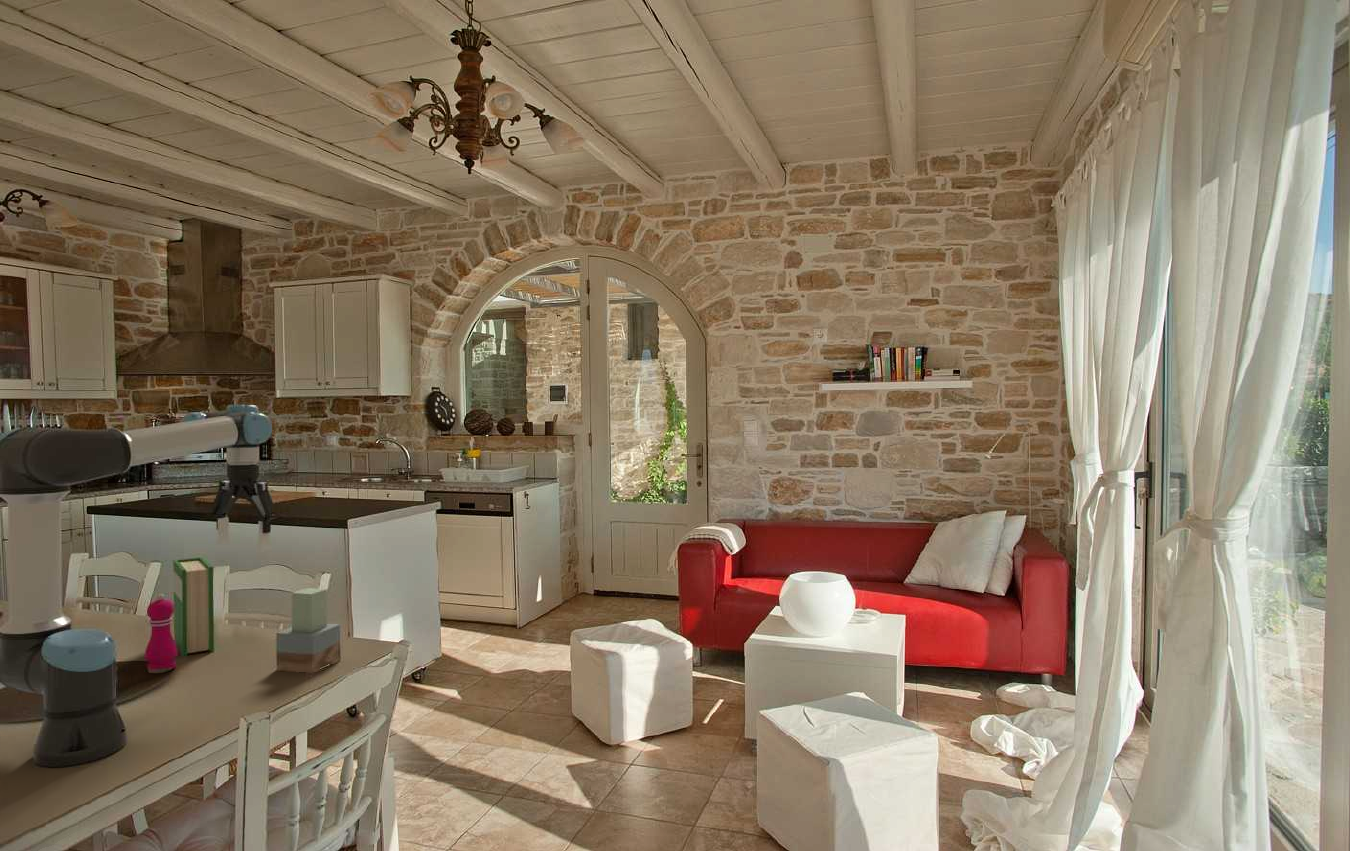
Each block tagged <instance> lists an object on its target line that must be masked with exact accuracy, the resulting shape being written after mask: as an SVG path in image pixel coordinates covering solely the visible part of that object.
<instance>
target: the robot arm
mask: <svg viewBox="0 0 1350 851" xmlns="http://www.w3.org/2000/svg"><path fill="white" fill-rule="evenodd" d="M272 430H273V426H272V422H271V420H270V418H269V416H267V415H265V414H264V413H260V412H259V408H258V406H257V405H254V404H229V405H227V406H226V410H225V412H218V411H217V412H216V411H215V412H212V411H211V412H210V411H197V412H188V413H186V414H184V416H183V417H182V418H181V421H180V422H176V423H169V424H168V423H167V424H163V425H157V426H149V427H142V428H136V429H129V430H123V431H122V430H121V429H119V428H116V427H112V428H106V429H105V428H104V429H103V428H102V429H77V428H75V429H73V428H64V427H63V428H61V427H60V428H53V427H34V426H28V427H19V428H13V429H10V430H7V431H4V432H3V433H1V434H0V498H2V500H4V501H6V502H7V509H8V510H7V511H8V512H7V514H8V517H7V518H8V520H7V522H8V523H7V526H8V531H7V532H8V533H7V534H8V620H7V621H6V622H5V623H4V624H3V625H2V626H1V627H0V685H1V686H4V687H7V688H9V689H10V690H14V691H19V692H23V691H24V692H27V693H31V694H32V693H33V694H37V695H42V696H43V721H42V724H41V727H40V729H39V733H38V735H37V739H36V742H35V744H34V746H33V750H32V754H33V756H32V761H33V763H34V764H35V765H36V766H40V767H46V768H47V767H48V768H57V767H61V768H62V767H68V766H75V765H81V764H85V763H90V762H93V761H96V760H100V759H102V758H105V757H108V756H110V755H112V754H114V753H116V752H118V751H120V750H121V749H123V748H124V747H125V746H126V744H127V742H128V731H127V728H126V726H125V723H124V721H123V718H122V716H121V714H120V712H119V709H118V707H117V685H116V684H117V682H116V681H117V679H116V676H117V674H116V671H117V670H116V666H117V664H116V663H117V662H116V657H117V649H116V643H115V638H114V637H113V635H111V633H109V632H107V631H105V630H101V629H97V628H96V629H95V628H88V629H85V628H73V629H72V620H71V619H70V617H68V616H67V615H64V614H63V576H62V575H63V574H62V573H63V571H62V570H63V568H62V564H63V563H62V558H63V557H62V556H63V554H62V550H63V549H62V547H63V546H62V545H63V544H62V542H63V541H62V501H63V499H64V498H65V497H66V496H68V494H70V493H71V485H76V484H82V483H86V482H90V481H94V480H97V479H100V478H101V479H102V478H105V477H110V476H114V475H121V474H123V473H126V472H127V471H128V470H130V468H131V467H135V466H140V465H145V464H150V463H153V462H159V461H164V460H169V459H174V458H179V457H184V456H189V455H194V454H199V453H204V452H208V451H215V450H219V449H223V448H226V463H228V464H227V465H226V478H227V479H229V480H222V481H221V480H220V481H219V483H218V490H217V492H216V494H215V498H214V501H213V502H212V503H213V504H212V506H211V508H210V511H209V515H210V516H213V517H215V519H216V526H215V527H216V531H217V544H225V543H229V542H230V541H229V540H230V538H229V536H230V534H229V531H230V530H229V529H230V528H229V526H230V524H229V523H230V522H229V521H230V520H229V519H230V518H229V517H228V514H229V512H230V511H231V510H232V508H233V506H234V504H236V502H237V500H246V501H247V502H249V504H250V505H251V506H252V508H253V510H254V511H255V512H256V514H257V515H258V517H259V520H258V523H257V525H258V547H265V546H270V533H271V531H272V530H271V526H272V525H271V524H272V523H271V522H272V520H274V519H277V518H278V513H277V510H276V507H275V504H274V502H273V500H272V497H271V494H270V492H269V487H268V483H267V481H265V482H263V481H262V482H258V479H259V478H260V465H259V463H258V462H259V461H260V444H263V443H266V442H267V441H268V440H269V439H270V437H271V435H272Z"/></svg>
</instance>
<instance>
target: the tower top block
mask: <svg viewBox="0 0 1350 851" xmlns="http://www.w3.org/2000/svg"><path fill="white" fill-rule="evenodd" d="M275 635H276V639H275V640H276V651H275V652H283V653H295V654H306V655H314V654H316V653H319V652H321V651H323V650H325V649H327V648H330V647H332V646H334V645H336V644H338V643H340V644H341V624H340V623H327V626H326V627H323V628H321V629H318V630H316V631H313V632H304V631H292V626H290V627H288V628H286V629H285V628H284V629H283V630H280V631H277V632H276V634H275Z"/></svg>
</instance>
